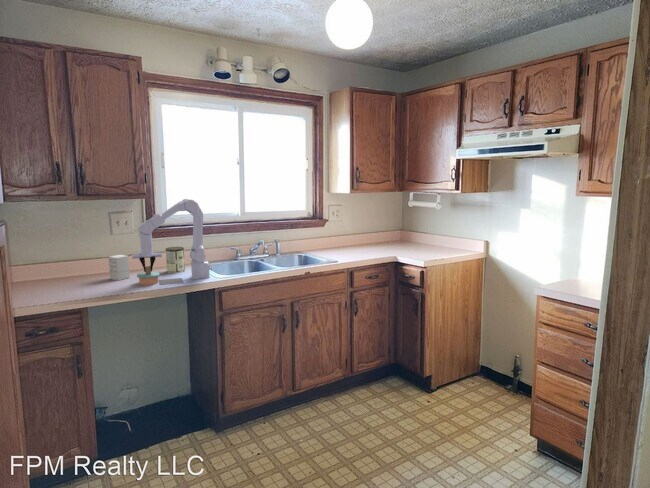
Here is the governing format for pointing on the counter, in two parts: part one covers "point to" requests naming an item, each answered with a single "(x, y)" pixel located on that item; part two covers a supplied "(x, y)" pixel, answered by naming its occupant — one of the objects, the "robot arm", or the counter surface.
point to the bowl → (148, 281)
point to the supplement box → (119, 267)
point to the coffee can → (175, 259)
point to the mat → (170, 281)
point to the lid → (148, 273)
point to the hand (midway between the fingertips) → (148, 271)
